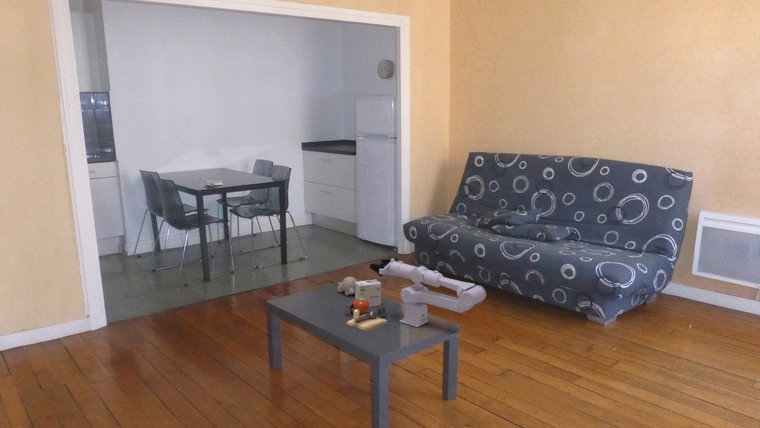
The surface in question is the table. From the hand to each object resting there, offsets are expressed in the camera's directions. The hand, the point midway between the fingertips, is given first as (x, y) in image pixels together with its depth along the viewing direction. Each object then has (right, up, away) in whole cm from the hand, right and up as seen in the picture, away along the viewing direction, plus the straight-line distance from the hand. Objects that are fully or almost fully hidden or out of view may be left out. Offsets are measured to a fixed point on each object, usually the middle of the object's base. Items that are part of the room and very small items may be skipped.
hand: (376, 263), depth 246 cm
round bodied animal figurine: (-14, -17, +28) cm, 36 cm away
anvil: (-11, -22, +2) cm, 24 cm away
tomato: (-7, -22, +1) cm, 23 cm away
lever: (-3, -22, -8) cm, 23 cm away
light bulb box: (-4, -20, +13) cm, 24 cm away
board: (-4, -24, -10) cm, 26 cm away
